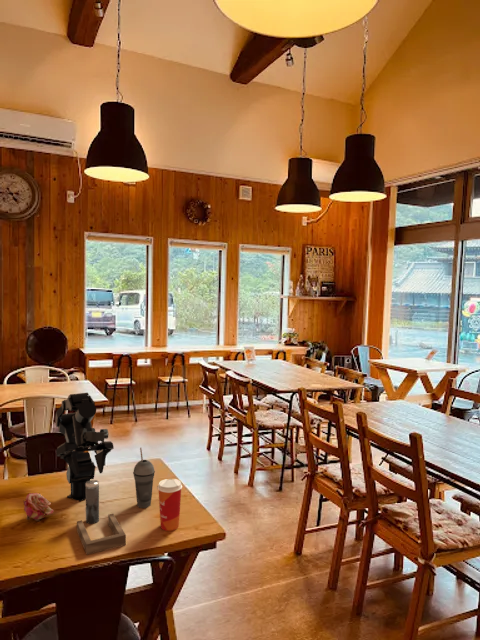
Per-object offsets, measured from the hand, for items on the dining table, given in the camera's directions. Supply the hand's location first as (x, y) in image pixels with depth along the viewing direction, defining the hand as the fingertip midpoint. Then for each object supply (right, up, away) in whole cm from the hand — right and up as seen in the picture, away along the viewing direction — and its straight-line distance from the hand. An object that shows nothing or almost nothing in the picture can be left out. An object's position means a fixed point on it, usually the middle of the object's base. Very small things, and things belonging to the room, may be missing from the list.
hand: (89, 474), depth 156 cm
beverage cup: (+16, -13, +7) cm, 22 cm away
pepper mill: (+2, -13, -4) cm, 14 cm away
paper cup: (+27, -14, -7) cm, 32 cm away
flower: (-15, -13, -3) cm, 20 cm away
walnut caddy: (+7, -14, -14) cm, 21 cm away
